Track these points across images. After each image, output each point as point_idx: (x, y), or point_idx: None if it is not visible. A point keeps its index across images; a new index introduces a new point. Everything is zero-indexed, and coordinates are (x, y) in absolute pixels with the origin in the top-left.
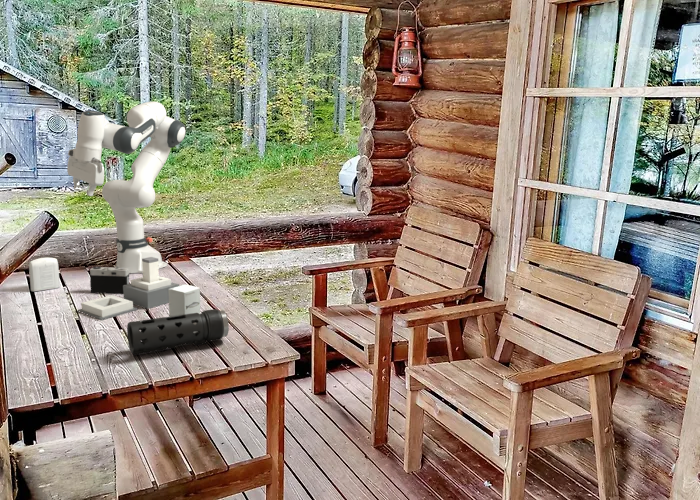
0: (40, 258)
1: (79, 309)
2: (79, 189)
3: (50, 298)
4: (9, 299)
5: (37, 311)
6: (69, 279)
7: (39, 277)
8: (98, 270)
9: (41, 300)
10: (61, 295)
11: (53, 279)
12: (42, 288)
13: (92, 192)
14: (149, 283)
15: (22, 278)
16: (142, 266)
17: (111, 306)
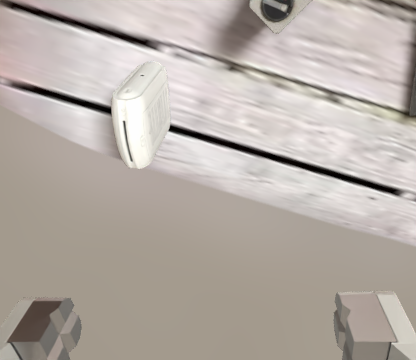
0: (124, 146)
1: (412, 110)
2: (64, 306)
3: (247, 117)
4: (197, 177)
5: (325, 171)
6: (84, 4)
7: (161, 131)
8: (303, 8)
9: (249, 137)
10: (240, 88)
11: (161, 91)
12: (169, 111)
13: (410, 335)
14: None
15: (30, 101)
16: None
17: None
